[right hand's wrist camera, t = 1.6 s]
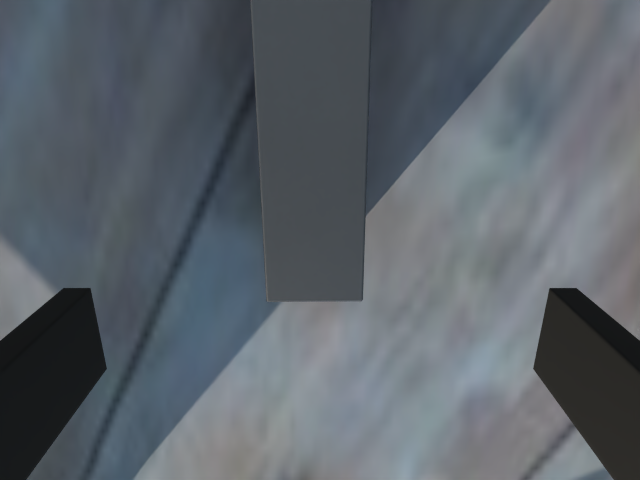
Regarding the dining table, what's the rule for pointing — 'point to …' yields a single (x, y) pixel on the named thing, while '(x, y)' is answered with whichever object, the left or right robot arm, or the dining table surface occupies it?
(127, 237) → the dining table surface
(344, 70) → the bar
